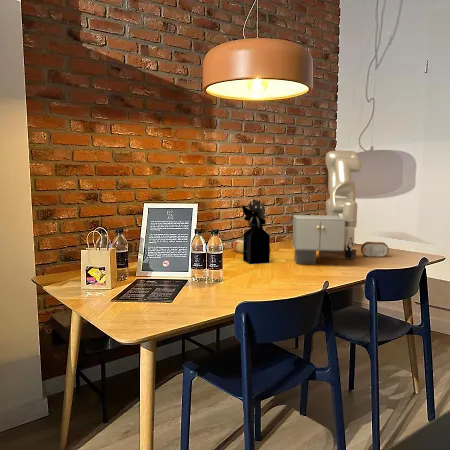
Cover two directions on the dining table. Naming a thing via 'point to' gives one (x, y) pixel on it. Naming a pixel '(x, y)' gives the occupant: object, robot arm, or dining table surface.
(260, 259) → the vase
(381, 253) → the tin
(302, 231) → the cabinet
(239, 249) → the snack package
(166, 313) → the dining table surface
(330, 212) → the robot arm
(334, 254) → the brown rectangular bar
